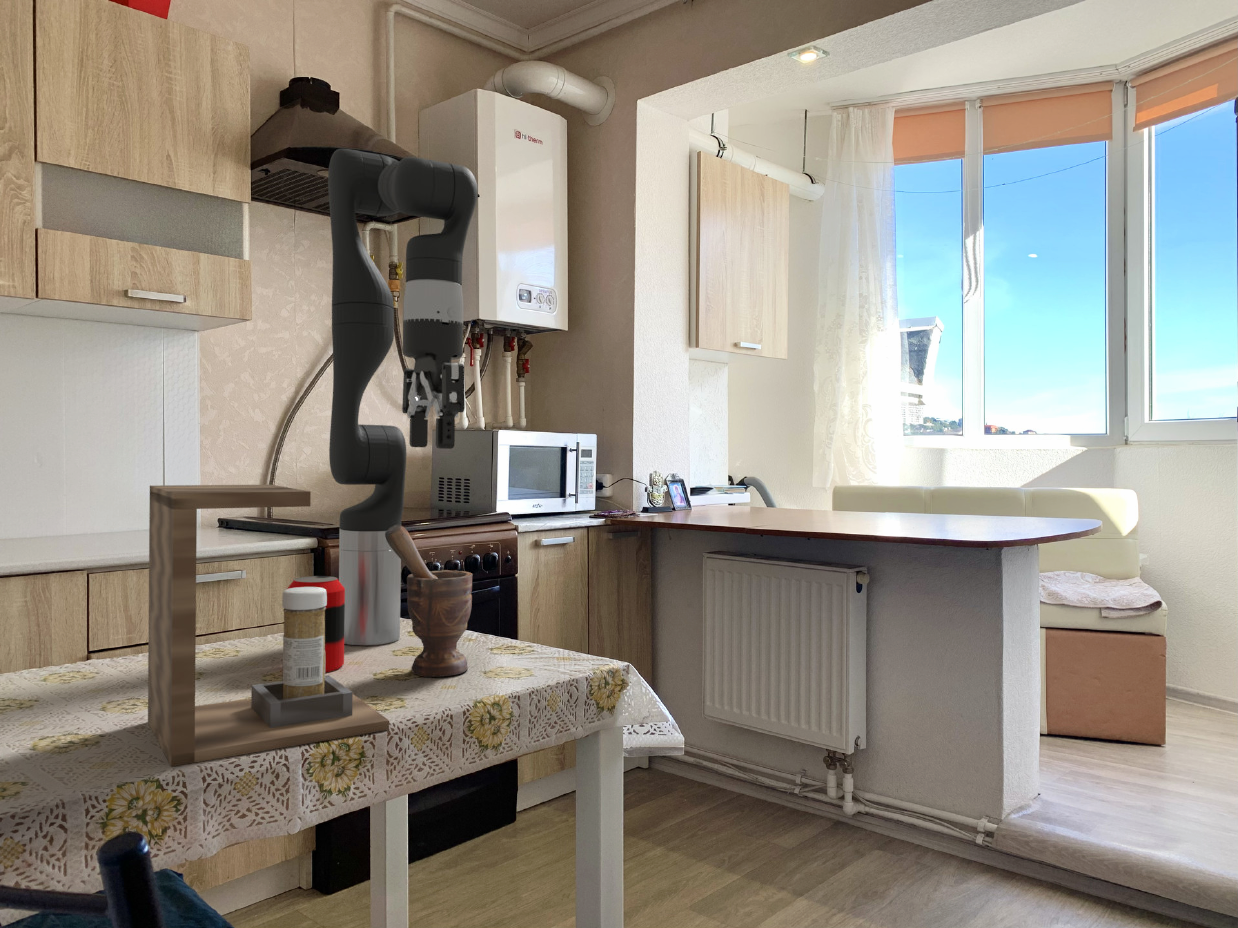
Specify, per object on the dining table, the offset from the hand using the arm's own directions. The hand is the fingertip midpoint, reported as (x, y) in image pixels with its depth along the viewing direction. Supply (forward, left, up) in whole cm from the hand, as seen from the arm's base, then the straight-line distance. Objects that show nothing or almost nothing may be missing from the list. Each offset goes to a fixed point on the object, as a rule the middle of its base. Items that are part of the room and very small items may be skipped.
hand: (431, 447), depth 115 cm
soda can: (-15, -10, -30) cm, 35 cm away
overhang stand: (+8, -22, -30) cm, 38 cm away
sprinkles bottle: (+8, -18, -29) cm, 35 cm away
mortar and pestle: (-4, +2, -30) cm, 31 cm away
